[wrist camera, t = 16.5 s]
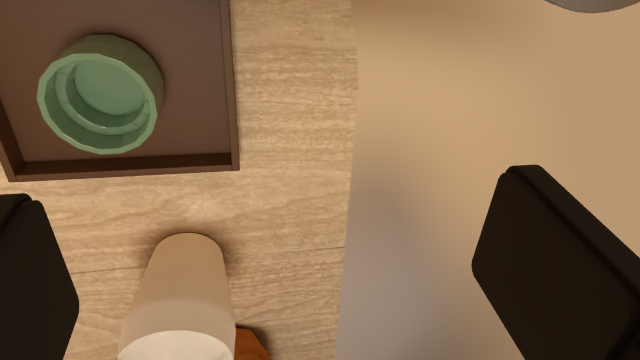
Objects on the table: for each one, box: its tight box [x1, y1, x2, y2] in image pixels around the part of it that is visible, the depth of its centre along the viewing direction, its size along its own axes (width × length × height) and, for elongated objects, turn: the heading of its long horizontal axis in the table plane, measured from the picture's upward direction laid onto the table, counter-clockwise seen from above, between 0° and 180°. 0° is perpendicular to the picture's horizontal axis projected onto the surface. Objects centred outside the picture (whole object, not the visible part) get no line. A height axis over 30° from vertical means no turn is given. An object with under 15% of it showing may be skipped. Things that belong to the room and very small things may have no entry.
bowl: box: [37, 35, 165, 154], centre depth 31 cm, size 7×7×4 cm
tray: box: [0, 0, 240, 182], centre depth 32 cm, size 17×14×2 cm
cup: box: [116, 233, 236, 360], centre depth 39 cm, size 9×9×12 cm
